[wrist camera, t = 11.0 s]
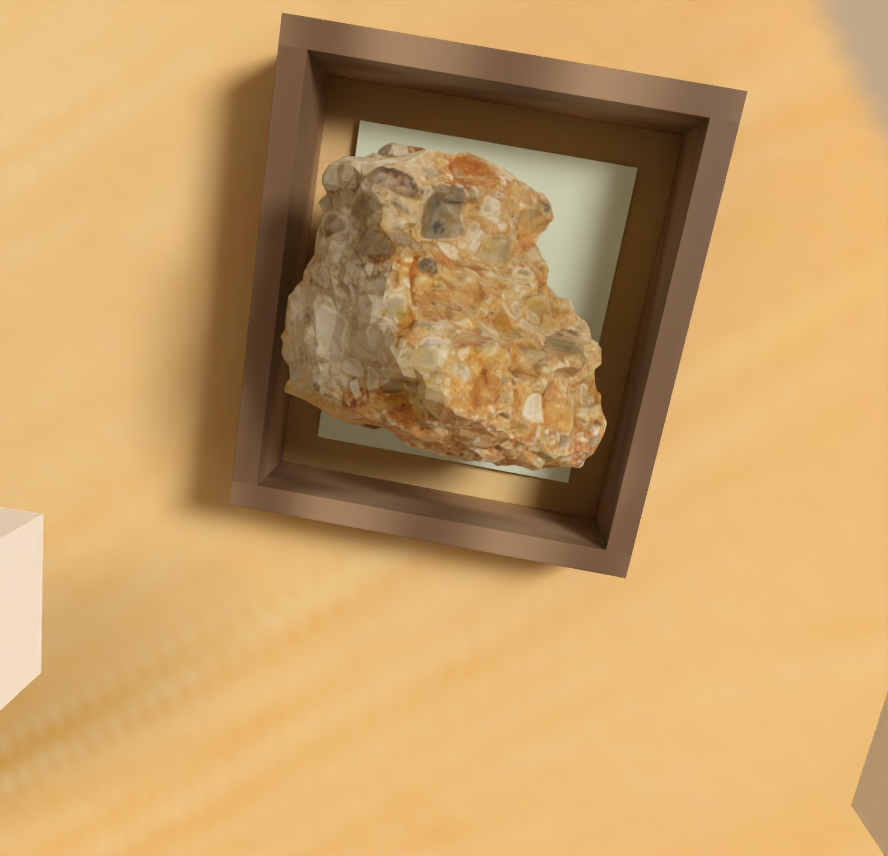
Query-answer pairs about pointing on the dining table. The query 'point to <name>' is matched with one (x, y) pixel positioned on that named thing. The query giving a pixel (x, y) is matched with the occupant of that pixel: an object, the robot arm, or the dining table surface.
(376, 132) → the pad
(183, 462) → the dining table surface
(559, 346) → the rock
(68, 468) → the dining table surface
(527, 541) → the brown wooden tray
